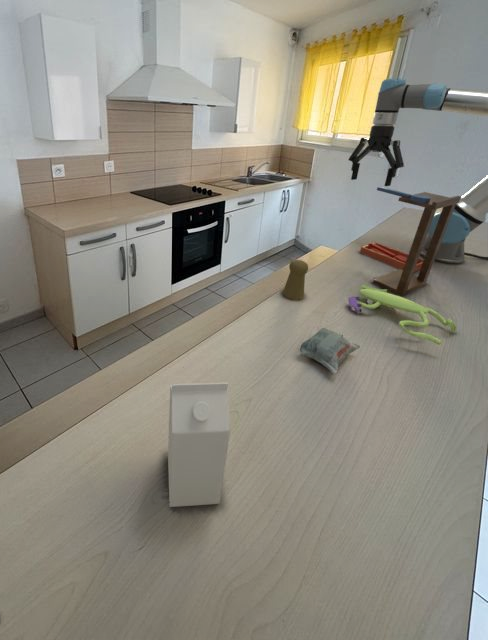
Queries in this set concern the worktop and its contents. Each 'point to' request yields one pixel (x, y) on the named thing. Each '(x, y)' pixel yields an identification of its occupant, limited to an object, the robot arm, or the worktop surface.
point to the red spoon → (389, 253)
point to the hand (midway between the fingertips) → (369, 182)
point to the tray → (387, 259)
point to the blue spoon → (407, 195)
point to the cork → (296, 280)
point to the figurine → (401, 304)
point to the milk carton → (197, 443)
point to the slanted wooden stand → (420, 246)
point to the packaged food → (328, 348)
